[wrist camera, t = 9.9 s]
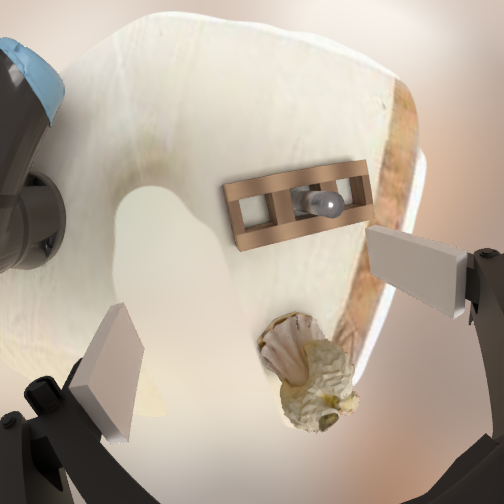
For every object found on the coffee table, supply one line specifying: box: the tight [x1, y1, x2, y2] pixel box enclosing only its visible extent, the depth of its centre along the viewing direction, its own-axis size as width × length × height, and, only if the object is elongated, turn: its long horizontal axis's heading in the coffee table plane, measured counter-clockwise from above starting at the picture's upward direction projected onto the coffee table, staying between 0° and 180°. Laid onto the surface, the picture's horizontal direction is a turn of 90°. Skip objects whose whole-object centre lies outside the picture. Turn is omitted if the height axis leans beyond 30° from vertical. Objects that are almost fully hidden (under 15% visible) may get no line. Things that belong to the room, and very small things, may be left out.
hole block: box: [223, 160, 375, 252], centre depth 41 cm, size 21×9×4 cm, turn 102°
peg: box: [291, 191, 344, 218], centre depth 38 cm, size 3×3×12 cm
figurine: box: [257, 312, 360, 433], centre depth 39 cm, size 12×12×20 cm
